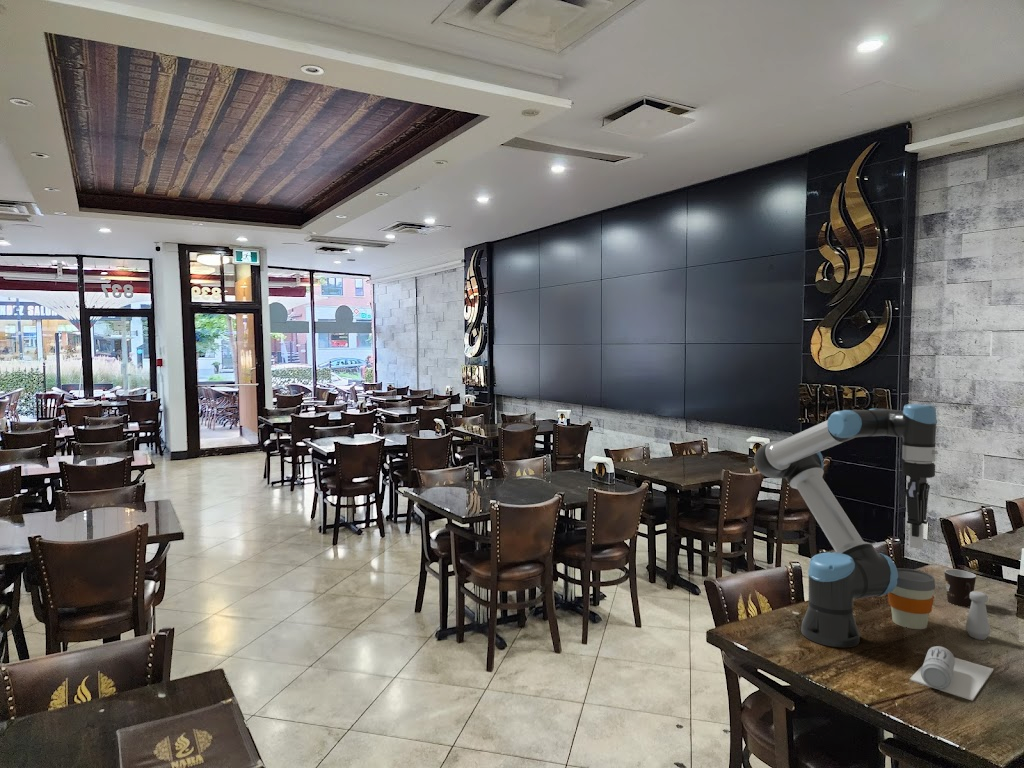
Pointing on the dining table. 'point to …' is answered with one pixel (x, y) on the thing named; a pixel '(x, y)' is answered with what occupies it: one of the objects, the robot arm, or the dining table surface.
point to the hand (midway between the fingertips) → (916, 547)
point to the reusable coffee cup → (912, 598)
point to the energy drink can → (938, 667)
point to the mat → (962, 679)
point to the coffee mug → (959, 586)
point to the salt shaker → (978, 616)
